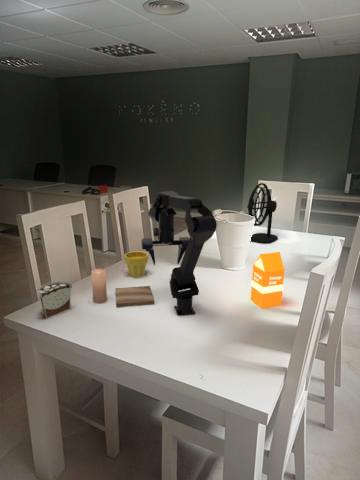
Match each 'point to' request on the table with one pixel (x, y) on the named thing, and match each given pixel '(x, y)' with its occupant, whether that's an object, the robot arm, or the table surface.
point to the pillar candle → (99, 285)
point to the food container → (55, 298)
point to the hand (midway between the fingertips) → (166, 264)
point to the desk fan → (269, 207)
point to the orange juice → (267, 280)
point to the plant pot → (136, 263)
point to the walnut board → (134, 296)
